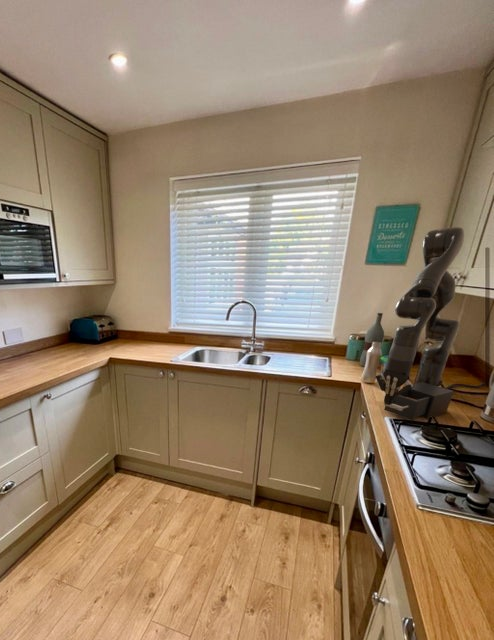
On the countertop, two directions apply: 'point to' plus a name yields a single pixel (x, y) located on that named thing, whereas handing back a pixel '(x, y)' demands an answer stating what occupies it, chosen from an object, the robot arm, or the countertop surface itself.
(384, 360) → the snack cup
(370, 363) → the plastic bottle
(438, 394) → the cabinet
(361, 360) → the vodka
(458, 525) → the countertop surface
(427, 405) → the drawer
